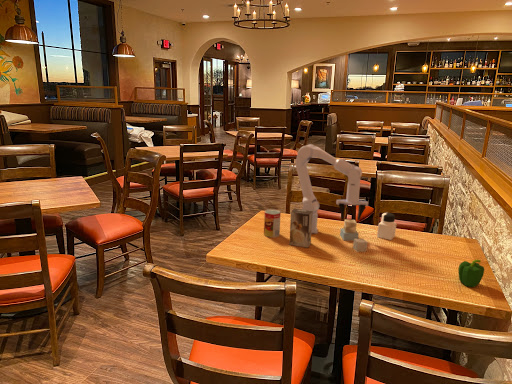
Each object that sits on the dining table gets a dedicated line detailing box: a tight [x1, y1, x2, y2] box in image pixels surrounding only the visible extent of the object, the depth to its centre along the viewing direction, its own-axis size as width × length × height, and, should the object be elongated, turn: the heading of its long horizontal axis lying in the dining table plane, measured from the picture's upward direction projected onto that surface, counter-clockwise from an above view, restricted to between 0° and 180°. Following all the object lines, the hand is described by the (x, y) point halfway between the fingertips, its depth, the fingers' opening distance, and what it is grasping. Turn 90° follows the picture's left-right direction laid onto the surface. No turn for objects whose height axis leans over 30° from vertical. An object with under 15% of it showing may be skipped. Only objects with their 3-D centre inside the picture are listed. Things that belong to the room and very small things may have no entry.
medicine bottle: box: [376, 212, 397, 241], centre depth 185 cm, size 7×7×12 cm
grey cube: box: [352, 238, 368, 253], centre depth 169 cm, size 4×4×4 cm
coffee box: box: [289, 208, 312, 248], centre depth 172 cm, size 9×6×16 cm
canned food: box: [263, 208, 281, 238], centre depth 184 cm, size 8×8×12 cm
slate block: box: [339, 227, 360, 242], centre depth 183 cm, size 7×7×4 cm
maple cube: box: [343, 218, 357, 233], centre depth 182 cm, size 5×5×5 cm
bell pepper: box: [457, 259, 485, 288], centre depth 139 cm, size 8×8×10 cm
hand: (350, 219), depth 181 cm, fingers open, 7 cm apart
